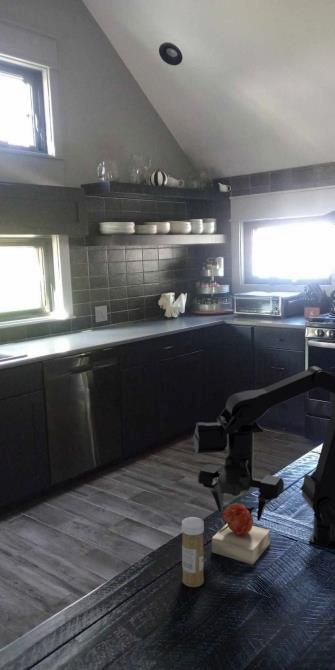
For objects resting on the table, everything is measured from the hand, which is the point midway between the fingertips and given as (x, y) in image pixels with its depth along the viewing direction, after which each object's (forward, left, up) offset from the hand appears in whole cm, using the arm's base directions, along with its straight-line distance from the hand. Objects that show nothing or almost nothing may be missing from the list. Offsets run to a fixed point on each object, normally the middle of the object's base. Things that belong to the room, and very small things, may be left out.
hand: (239, 515), depth 130 cm
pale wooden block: (0, +1, -8) cm, 8 cm away
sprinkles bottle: (+17, -4, -8) cm, 19 cm away
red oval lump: (0, -1, -4) cm, 5 cm away
